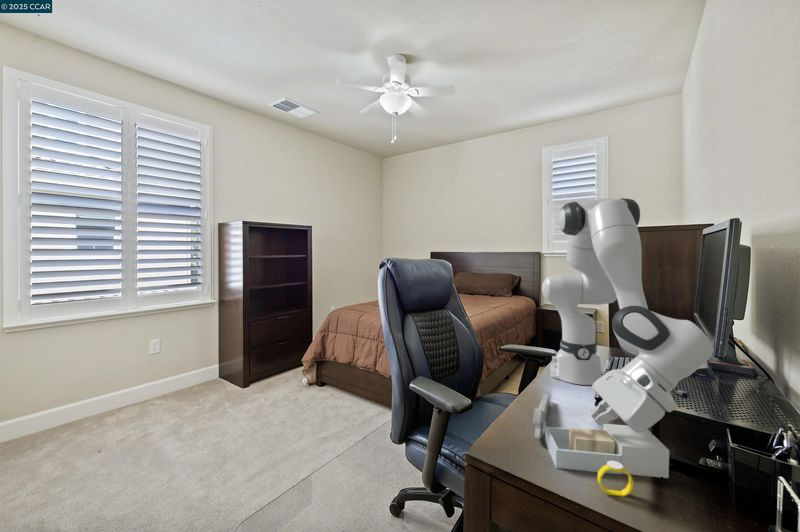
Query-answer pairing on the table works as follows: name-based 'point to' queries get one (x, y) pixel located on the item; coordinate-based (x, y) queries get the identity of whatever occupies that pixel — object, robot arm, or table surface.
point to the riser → (639, 451)
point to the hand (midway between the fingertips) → (595, 420)
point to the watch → (616, 468)
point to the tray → (575, 453)
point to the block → (591, 441)
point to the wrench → (540, 416)
